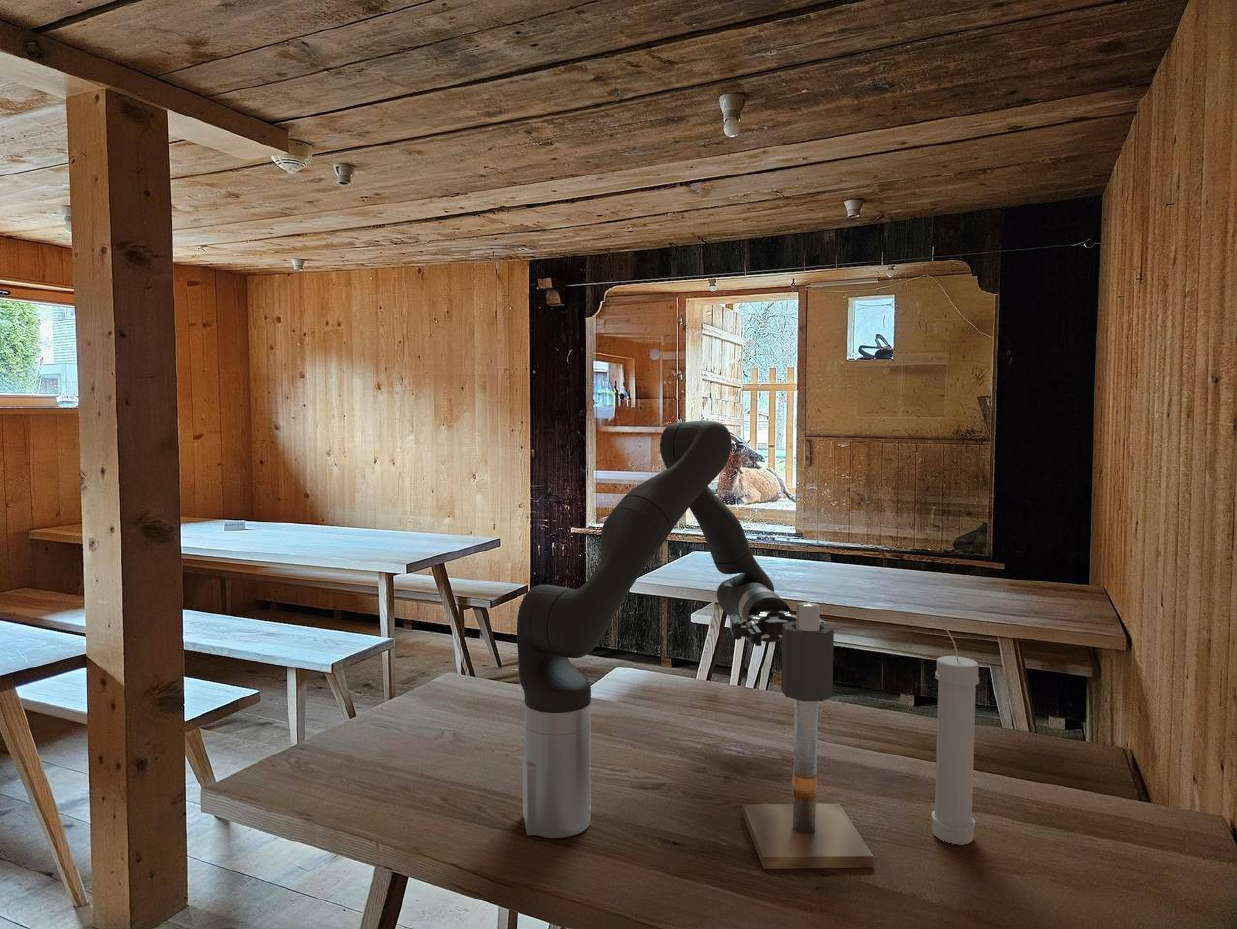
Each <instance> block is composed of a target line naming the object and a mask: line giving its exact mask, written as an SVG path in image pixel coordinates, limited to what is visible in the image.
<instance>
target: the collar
mask: <svg viewBox="0 0 1237 929" xmlns="http://www.w3.org/2000/svg"><path fill="white" fill-rule="evenodd" d="M834 634H835V629H834V627H832V626H830V625H829V624H827V623H826V624H823V623H819V631H803V630H798V629H796V621H791V622H788V623H785V624H782V639H781V674H780V675H781V678H780V679H781V680H780V681H781V684H780V685H781V688H780V691H781V692H782V693H783V695H784V696H785V697H786V698H790V699H793V700H795V699H796V700H800V701H818V702H824V701H827V700H828V699H831V698H832V697H833V686H834V683H833V681H834V641H835V640H834V638H835V637H834V636H835V635H834Z"/></svg>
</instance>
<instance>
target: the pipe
mask: <svg viewBox="0 0 1237 929" xmlns="http://www.w3.org/2000/svg"><path fill="white" fill-rule="evenodd" d="M931 619H932V620H933V621H935V622H936V623H937V624H939V625H940V626H941V627H942V629H943V630H945V632H946V633H947V634H948V636H949V637H950V639H951V642H952V643H953V646H954V651H955V655H956V656H955V655H944V656H940V657H938V658H937V659H936V671H935V673H934V674H935V677H934V679H936V680H938V682H937V684H938V686H937V690H938V691H937V717H936V718H937V720H936V721H937V722H936V751H935V752H936V757H935V758H936V759H935V760H936V761H935V763H936V764H935V791H934V792H935V793H934V794H935V795H934V799H935V800H934V810H933V811H931V819H930V820H931V822H932V826H931V827H932V828H931V830H932V831H931V832H932V834H933V835H934V837H935V836H936V837H937V838H936V837H935V838H936V839H938V838H939V839H940V840H939V839H938V840H939V841H941V840H942V841H941V842H944V841H945V842H944V843H946V842H948V843H947V844H949V843H953V844H952V845H954V844H958V845H957V846H966V845H970V844H971V843H972V842H973V841H974V832H975V831H974V829H975V828H976V820H975V818H973V793H974V792H973V791H974V790H973V789H974V787H973V786H974V759H975V758H974V753H975V725H976V724H975V723H976V722H975V720H976V715H975V714H976V692H977V691H976V687H977V685H979V684H980V676H979V663H978V662H977V661H975V660H974V659H971V658H967V657H964V656H959V654H958V649H957V644H956V642H955V640H954V638H953V636H952V634H951V632H950V631H949V630H948V629H947V628H946V627H945V626H944V625H943V624H942V623H941V622H940V621H939V620H937V619H936V618H934V617H931ZM970 842H971V843H970ZM969 843H970V844H969ZM965 844H966V845H965Z"/></svg>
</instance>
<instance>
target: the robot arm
mask: <svg viewBox="0 0 1237 929" xmlns="http://www.w3.org/2000/svg"><path fill="white" fill-rule="evenodd" d="M732 446H733V441H732V435H731V433H730V430H729V429H728V428H727V426H726V425H724V424H723V423H722V422H719V421H715V420H709V419H708V420H707V419H706V420H705V419H704V420H692V421H681V422H680V421H679V422H673V423H670V424H669V425H668V426H666V427H665V428H664V430H663V432H662V433H661V436H660V440H659V452H660V457H661V460H662V461H663V464H664V466H665V468H666V469H665V470H663V471H661V472H660V473H657V474H656V475H654V476H652V477H651V478H649V479H647V480H645V481H644V482H642V483H640V484H638V485H637V486H635V487H634V488H632V489H631V490H630V491H629V492H627V493H626V494H625V495H624V496H623V498H621V500H620V501H619V502H618V503H617V505H616V506H615V507H614V508H613V510H612V511H611V512H610V513H609V514H608V515H607V517H606V519H605V521H604V522H603V525H602V528H601V535H600V560H599V564H598V566H597V567H596V568H595V570H594V572H592V574H591V575H590V577H589V578H588V579H587V581H586V582H584V584H582V585H581V586H580V587H578V588H576V589H575V588H570V587H564V586H558V585H553V584H552V585H551V584H537V585H536V586H533V587H532V588H530V589H529V590H528V591H527V592H526V593H525V595H524V596H523V598H522V600H521V603H520V605H519V607H518V608H519V609H518V612H517V619H516V641H517V659H518V678H519V682H520V685H521V688H522V690H523V694H524V750H523V751H522V817H523V822H524V827H525V828H524V829H525V833H526V836H539V837H542V838H547V839H549V838H550V839H561V838H562V839H563V838H569V837H574V836H576V835H578V834H581V833H583V832H584V831H585V830H586V829H588V827H589V826H590V824H591V812H592V811H591V810H592V809H591V808H592V805H591V804H592V803H591V794H592V792H591V784H592V783H591V782H592V780H591V775H592V774H591V773H592V771H591V770H592V769H591V768H592V763H591V762H592V760H591V759H592V758H591V757H592V755H591V754H592V753H591V752H592V745H591V744H592V736H591V735H592V733H591V732H592V714H591V713H592V687H591V682H590V680H589V679H588V678H587V677H586V675H585V674H583V673H582V672H580V671H579V670H578V669H577V668H576V667H575V666H574V665H573V664H572V662H571V660H570V659H580V658H584V657H585V656H587V655H588V654H590V653H591V652H592V651H593V650H594V649H595V648H596V646H597V645H598V644H599V642H600V641H601V640H602V638H603V636H604V635H605V633H606V632H607V630H608V628H609V627H610V625H611V622H613V619H614V618H615V616H616V613H617V612H618V610H619V608H620V607H621V605H622V603H623V602H624V600H625V598H626V596H627V594H628V593H629V591H630V590H631V588H632V587H633V585H635V582H636V581H637V579H638V578H639V577H640V575H641V573H642V572H643V571H644V570H645V567H646V566H647V564H648V563H649V562H650V561H651V559H652V558H653V557H654V556H655V555H656V554H657V552H658V551H659V550H660V549H661V547H662V545H664V542H665V541H666V539H667V538H668V537H669V536H670V534H671V532H672V531H673V529H675V526H676V525H677V523H678V522H679V521H680V520H681V518H682V517H683V516H684V515H685V513H686V512H687V511H688V510H690V512H691V513H692V515H693V516H694V518H695V520H696V522H697V524H698V526H699V527H700V531H701V532H702V534H703V537H704V540H705V541H706V545H707V547H708V550H709V552H710V555H711V557H712V560H713V563H714V565H715V568H716V570H718V572H719V573H721V574H724V575H735V576H732V577H730V578H728V579H725V580H724V581H722V582H721V583H720V584H719V585H718V587H717V590H716V599H717V602H718V604H719V606H720V608H721V609H722V611H723V612H724V613H725V614H726V615H727V616H728V617H730V618H729V631H730V633H731V636H732V638H733V639H734V640H737V641H738V640H739V641H740V640H742V638H745V640H746V641H749V642H750V643H751V644H754V646H755V647H761V646H762V642H764V643H774V642H778V641H780V640H781V641H782V624H785V623H788V622H791V621H796V615H795V614H794V613H793V611H792V609H791V607H790V605H789V604H788V603H787V602H786V601H785V600H784V599H782V597H780V596H779V595H778V594H777V593H776V592H775V586H774V584H773V582H772V580H771V578H770V577H769V576H768V575H767V573H766V572H765V571H764V570H763V568H762V567H761V565H759V563H758V561H757V560H756V558H755V556H754V554H753V553H752V550H751V548H750V545H749V542H748V539H747V536H746V534H745V531H744V528H743V526H742V524H741V522H740V520H739V519H738V517H736V515H735V514H734V513H733V511H731V509H730V508H729V507H728V505H726V504H725V503H724V502H723V501H722V500H721V499H720V498H719V497H718V496H717V495H716V494H715V493H714V492H713V490H712V489H711V488H710V487H709V485H710V484H711V483H712V482H713V481H714V480H715V479H716V478H717V477H718V476H719V475H720V474H721V472H723V470H724V469H725V466H727V463H728V461H729V459H730V456H731V453H732ZM819 623H823V624H827V622H826V621H824V620H823V619H822V618H820V621H819Z"/></svg>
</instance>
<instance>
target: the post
mask: <svg viewBox="0 0 1237 929" xmlns="http://www.w3.org/2000/svg"><path fill="white" fill-rule="evenodd" d="M820 611H821V605H820V604H818V603H815V602H797V603H796V629H798V630H803V631H819V621H820V619H821V616H820V615H821V613H820ZM818 712H819V701H800V700H796V699H794V726H793V728H794V729H793V730H794V731H793V732H794V734H793V735H794V737H793V738H794V739H793V746H794V747H793V771H792V787H791V788H792V790H791V791H792V792H791V793H792V794H791V795H792V803H755V804H753V803H752V804H751V803H749V804H745V803H744V804H742V816H743V819H744V822H745V825H746V828H747V830H748V832H749V835H750V837H751V840H752V843H753V846H754V848H755V851H756V853H757V856H758V858H759V861H760V863H761V866H762V869H765V870H769V869H771V870H773V869H777V870H779V869H781V870H782V869H784V870H785V869H790V870H792V869H846V868H847V869H853V868H857V869H859V868H865V869H866V868H874V854H873V853H872V851H871V850H870V848H869V847H868V845H867V844H866V842H865V840H864V839H863V838H862V836H861V835H860V833H859V831H858V830H857V828H856V826H854V823H853V822H852V820H851V819H850V818H849V816H848V814H847V813H846V811H845V810H844V808H843V807H842V805H841V804H840V803H817V799H818V774H817V773H818V769H817V766H818V765H817V764H818V722H819V721H818V720H819V718H818V716H819V713H818Z"/></svg>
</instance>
